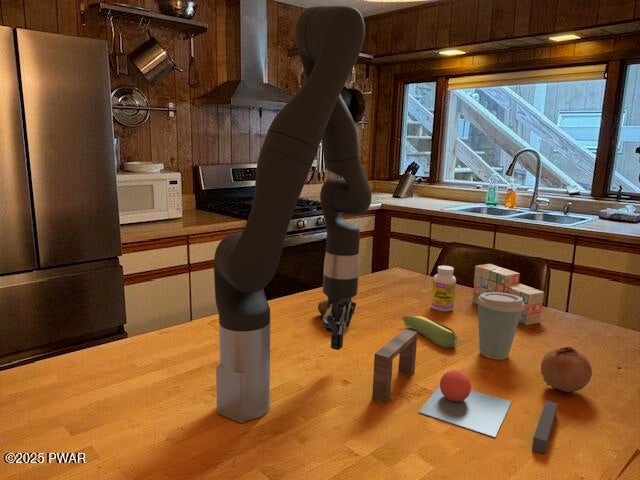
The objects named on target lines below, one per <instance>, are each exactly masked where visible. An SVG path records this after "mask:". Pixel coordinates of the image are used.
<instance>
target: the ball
mask: <svg viewBox="0 0 640 480" xmlns="http://www.w3.org/2000/svg"><path fill="white" fill-rule="evenodd" d="M439 386H440V390H441V392H442V394H443V395H444V396H445V397H446V398H447V399H448V400H451V401H454V402H459V401H463V400H465V399H466V398H467V397H468V396H469V394H470V392H471V390H472V383H471V379H469V377H468V375H467V374H466V373H464V372H462V371H460V370H457V369H456V370H453V369H452V370H451V369H450V370H448V371H446V372H445V373H444V374H443V375H442V376H441V377H440V381H439Z"/></svg>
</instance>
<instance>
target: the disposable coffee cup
mask: <svg viewBox="0 0 640 480" xmlns="http://www.w3.org/2000/svg"><path fill="white" fill-rule="evenodd" d="M522 300H523V298H521V297H519V296H516V295H512V294H507V293H499V292H487V293H483V294H481V295H480V296H479V298H478V301H477V303H478V304H477V317H478V318H477V319H478V320H477V321H478V344H479V345H478V347H479V348H478V349H479V351H480V354H481V355H482V356H484V357H486V358H488V359H492V360H498V361H499V360H501V361H502V360H505V359H507V358H508V356H510V355H509V354H510V351H511V348H512V345H513V341H514V339H515V335H516V333H517V329H518V326H519V324H520V323H519V319H520V316H521V313H522V311H523V310H524V302H522Z"/></svg>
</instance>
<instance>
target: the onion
mask: <svg viewBox="0 0 640 480" xmlns="http://www.w3.org/2000/svg"><path fill="white" fill-rule="evenodd" d="M540 373H541V375H542V377H543V379H542V380H543V382H544V383H546V384H545V385H547V386H550V388H553V389H556V390H558V391H562V392H566V393H573V392H577V391H580V390H582V389H583V390H584V388H585V387H587V385H588V384H589V382H590V381H591V379H592V375H593V369H592V366H591V363H590V361H589V359H587V357H586V356H585V355H583V354H582V353H580V352H579V351H578V350H577V349H575V348H573V347H572V346H565V347H559V348H556V349H552V350H550V351H549V352H547V353H545V355H544V356H543V358H542V359H541V363H540Z"/></svg>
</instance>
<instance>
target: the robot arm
mask: <svg viewBox="0 0 640 480" xmlns="http://www.w3.org/2000/svg"><path fill="white" fill-rule="evenodd" d="M365 37H366V25H365V19H364V18H363V15H362V13H361V12H360V11H359V10H358V9H357V8H356V7H352V6H347V5H324V6H323V5H321V6H311V7H308V8H306V9H305V10H304V11H302V12H301V13H300V15H299V16H298V18H297V21H296V25H295V42H296V48H297V51H298V54H299V59H300V62H301V65H302V68H303V72H304V75H305V79H306V81H305V82H304V84H303V86H302V87H301V88H300V89H299V90H298V91H297V93H295V95H293V97H292V98H291V99H290V100H289V101H288V102H287V103H286V104H285V105H284V106H283V107H282V108H281V110H280V111H278V113H277V114H276V115H275V116H274V118H273V120H272V121H271V123H270V126H269V128H268V130H267V131H266V132H267V133H266V136H265V137H264V141H263V143H262V145H261V148H260V151H259V154H258V159H257V163H256V164H257V165H256V171H255V173H256V174H255V181H254V182H255V183H254V184H255V185H254V194H253V202H252V206H251V209H250V210H251V211H250V213H249V216H248V219H247V221H246V224H245V226H244V228H243V231H242V232H241V231H240V232H239V231H238V232H233V233H230V234H228V235H226V236H225V237H223V239H221V241H220V242H219V243H218V245H217V247H216V249H215V251H214V257H213V277H214V296H215V297H214V299H215V304H216V308H217V309H216V310H217V312H218V323H219V324H218V325H219V327H218V328H219V329H218V330H219V331H218V332H219V334H218V335H219V363H218V365H216V367H215V375H216V376H215V379H216V383H215V384H216V413H217V414H219V415H220V416H224V417H226V418H229V419H230V420H233V421H235V422H237V423H240V424H243V423H245V422H247V421H251V420H255V419H258V418H261V417H263V416H264V415H266V414H267V413H268V412H269V410H270V408H271V407H270V406H271V308H270V305H269V302H268V300H267V297H266V294H265V289H264V288H266V287H267V286H268V285H269V284H270V283H271V282H272V280H273V279H274V276H275V274H276V272H277V269H278V267H279V263H280V259H281V255H282V252H283V248H284V244H285V241H286V237H287V233H288V229H289V227H290V226H289V225H290V223H291V219H292V216H293V214H294V212H295V210H296V207H297V205H298V202H299V200H300V197H301V194H302V191H303V189H304V186H305V184H306V180H307V178H308V175H309V174H310V171H311V169H312V167H313V164H314V161H315V159H316V156H317V154H318V151H319V149H320V145H321V148H322V155H323V163H324V166H325V170H327V171H328V172H330V173H332V174H334V175H338V176H339V177H341V178H337V177H331V178H328V179H327V180H326V181H325V182H324V183H323V184H322V186H321V190H320V194H319V199H320V200H319V201H320V205H321V211H322V213H323V214H322V215H323V219H324V220H323V221H324V225H325V230H326V241H325V242H326V244H325V255H324V260H323V261H324V262H323V274H322V275H323V276H322V277H323V279H322V292H323V294H324V295H325V296H326V297H327V300H328V301H327V305H326V307H327V311H326V313H325V315H324V314H321V313H320V316H319V319H320V322H321V324H322V326H323V328H324V330H325V332H326V333H330V334H331V335H330V336H331V338H330V348H331V349H332V350H336V351H339V350H341V349H343V345H344V344H343V343H344V333H345V332H346V328H349V327H350V323H351V320H352V318H353V315H354V314H353V313H355V310H356V306H357V302H356V301H355V302H354V301H352V298H354V297H356V296H357V295H358V290H359V289H358V288H359V275H360V274H359V273H360V272H359V271H360V257H359V255H360V254H359V253H360V240H361V230H360V228H359V227H358V226H357V225H355V224H352V223H350V222H347V221H346V220H344V217H343V215H342V214H348V215H358V216H359V215H360V216H361V215H363V214H365V213H366V212H367V211H368V210H369V209H370V207H371V204H372V190H371V186H370V183H369V181H368V177H367V175H366V173H365V170H364V168H363V165H362V162H361V159H360V151H359V140H358V131H357V127H356V124H355V121H354V119H353V116H352V113H351V112H350V110H349V108H348V106H347V103H346V102H345V100H344V99H343V96H342V95H341V93H342V91H343V89H344V87H345V85H346V83H347V81H348V79H349V77H350V75H351V73H352V71H353V69H354V67H355V64H356V63H357V61H358V58H359V56H360V55H361V54H360V53H361V52H362V49H363V46H364V45H363V44H364V41H365Z"/></svg>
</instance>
